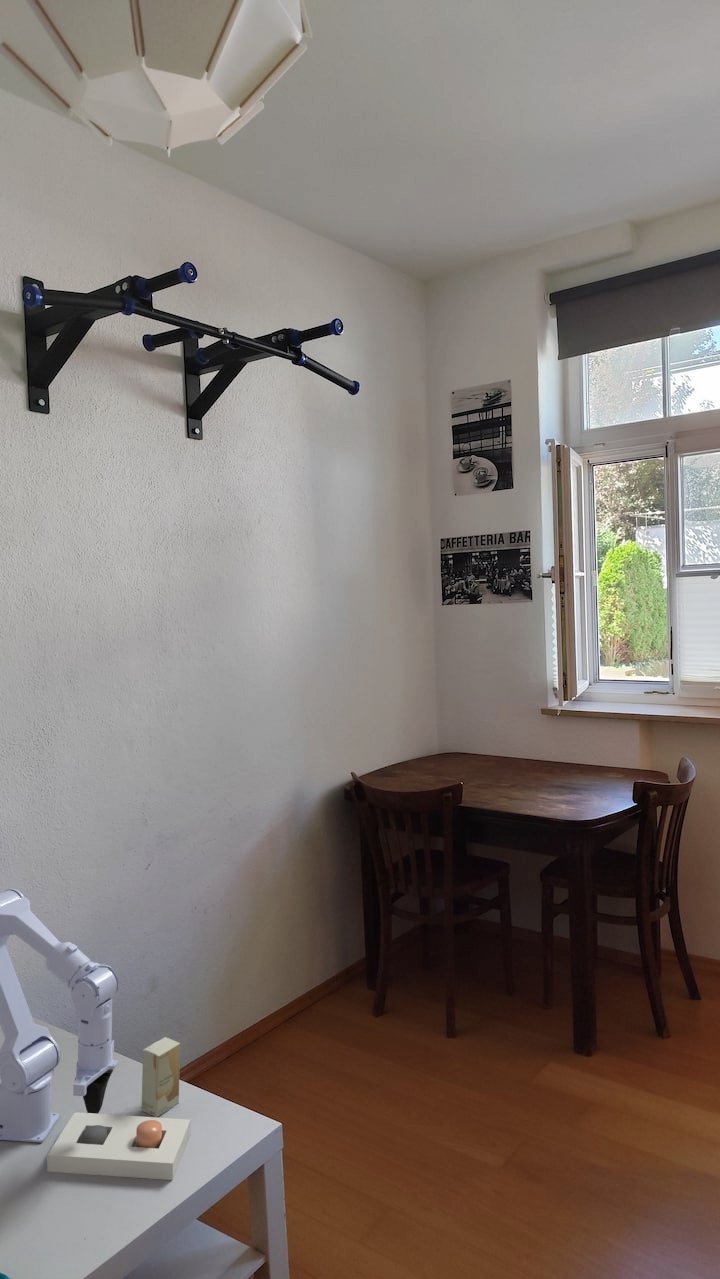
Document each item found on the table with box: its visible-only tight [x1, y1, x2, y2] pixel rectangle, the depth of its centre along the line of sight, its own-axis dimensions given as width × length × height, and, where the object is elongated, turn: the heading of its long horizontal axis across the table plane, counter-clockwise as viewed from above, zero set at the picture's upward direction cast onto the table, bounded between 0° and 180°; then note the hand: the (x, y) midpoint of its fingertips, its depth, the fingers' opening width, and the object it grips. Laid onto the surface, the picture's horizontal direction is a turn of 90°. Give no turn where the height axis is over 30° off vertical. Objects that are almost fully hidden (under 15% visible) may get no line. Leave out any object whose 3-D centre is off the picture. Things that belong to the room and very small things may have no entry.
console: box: [46, 1111, 192, 1181], centre depth 153 cm, size 22×12×3 cm, turn 87°
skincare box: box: [141, 1036, 181, 1118], centre depth 167 cm, size 6×4×12 cm
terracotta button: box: [136, 1120, 162, 1149], centre depth 153 cm, size 4×4×3 cm
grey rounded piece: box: [81, 1125, 107, 1145], centre depth 153 cm, size 4×4×3 cm
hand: (94, 1110), depth 153 cm, fingers closed
